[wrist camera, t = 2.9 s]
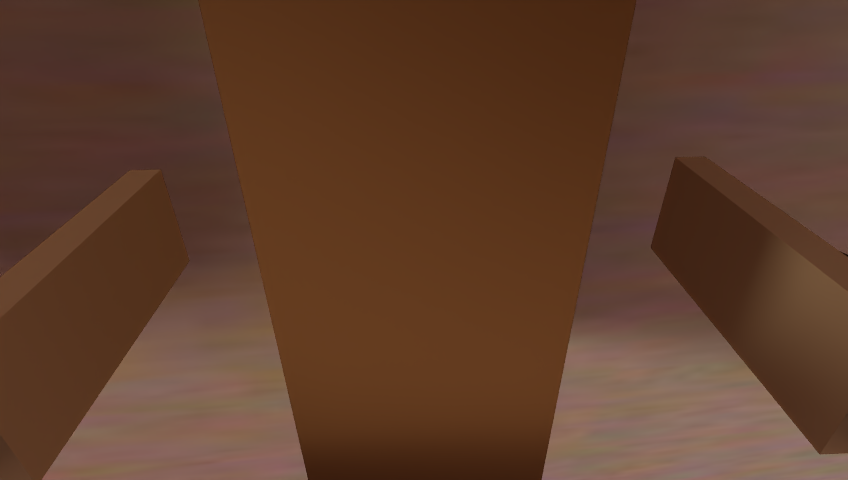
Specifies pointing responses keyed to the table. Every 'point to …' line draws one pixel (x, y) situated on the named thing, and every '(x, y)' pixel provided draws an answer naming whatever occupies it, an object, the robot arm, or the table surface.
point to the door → (420, 215)
